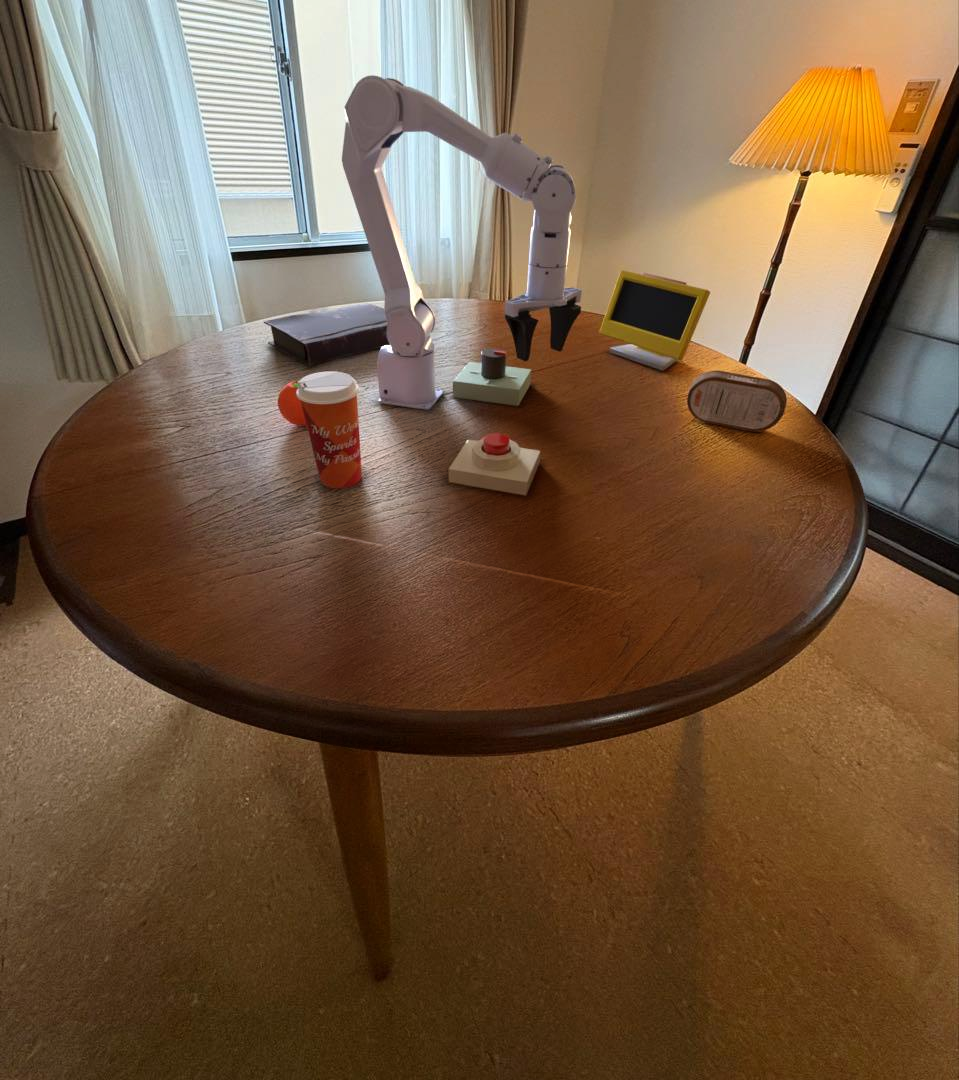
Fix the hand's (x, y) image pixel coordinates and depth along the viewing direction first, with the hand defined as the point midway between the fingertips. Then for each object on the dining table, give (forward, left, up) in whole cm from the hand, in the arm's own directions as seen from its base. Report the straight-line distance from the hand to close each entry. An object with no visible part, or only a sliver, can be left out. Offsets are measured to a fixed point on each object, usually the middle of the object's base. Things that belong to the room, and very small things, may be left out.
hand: (539, 354), depth 92 cm
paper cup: (-21, -31, -10) cm, 39 cm away
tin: (+32, +4, -10) cm, 34 cm away
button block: (-1, -23, -9) cm, 25 cm away
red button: (-1, -24, -6) cm, 24 cm away
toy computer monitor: (+17, +32, -10) cm, 37 cm away
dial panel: (-9, +5, -9) cm, 14 cm away
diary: (-47, +19, -10) cm, 51 cm away
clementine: (-34, -18, -10) cm, 40 cm away
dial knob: (-9, +4, -6) cm, 12 cm away
